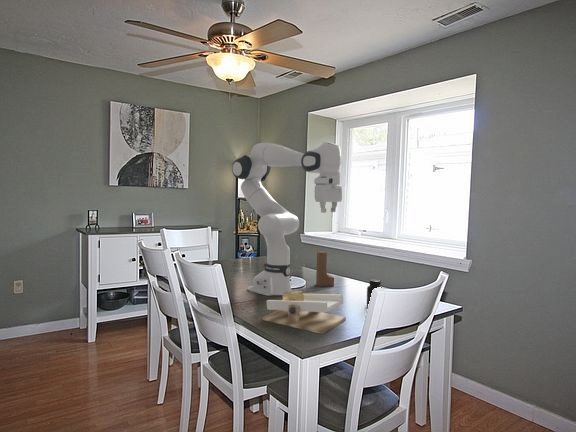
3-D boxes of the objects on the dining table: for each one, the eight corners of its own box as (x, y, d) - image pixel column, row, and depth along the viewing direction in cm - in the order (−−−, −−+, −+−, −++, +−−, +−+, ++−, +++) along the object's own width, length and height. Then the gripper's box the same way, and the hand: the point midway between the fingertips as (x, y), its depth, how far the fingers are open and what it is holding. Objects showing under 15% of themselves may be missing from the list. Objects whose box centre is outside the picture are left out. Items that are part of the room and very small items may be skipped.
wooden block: (332, 284, 217) (333, 251, 216) (334, 286, 213) (335, 252, 212) (315, 284, 216) (317, 251, 215) (317, 286, 212) (318, 252, 210)
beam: (267, 309, 156) (266, 300, 156) (286, 301, 168) (286, 293, 168) (326, 312, 142) (325, 302, 142) (343, 303, 154) (342, 294, 154)
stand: (262, 319, 154) (262, 300, 154) (289, 307, 171) (290, 290, 170) (322, 334, 140) (323, 313, 140) (345, 319, 157) (346, 300, 157)
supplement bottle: (370, 303, 181) (372, 277, 180) (384, 307, 176) (386, 280, 176) (363, 307, 175) (364, 280, 175) (377, 310, 171) (378, 282, 170)
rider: (283, 303, 157) (282, 293, 157) (291, 300, 162) (290, 290, 162) (296, 304, 154) (295, 293, 154) (304, 300, 159) (303, 290, 159)
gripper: (333, 181, 182) (332, 211, 183) (312, 179, 165) (311, 212, 166) (346, 181, 179) (344, 212, 180) (326, 179, 162) (324, 213, 162)
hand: (328, 212), depth 173 cm, fingers open, 8 cm apart
